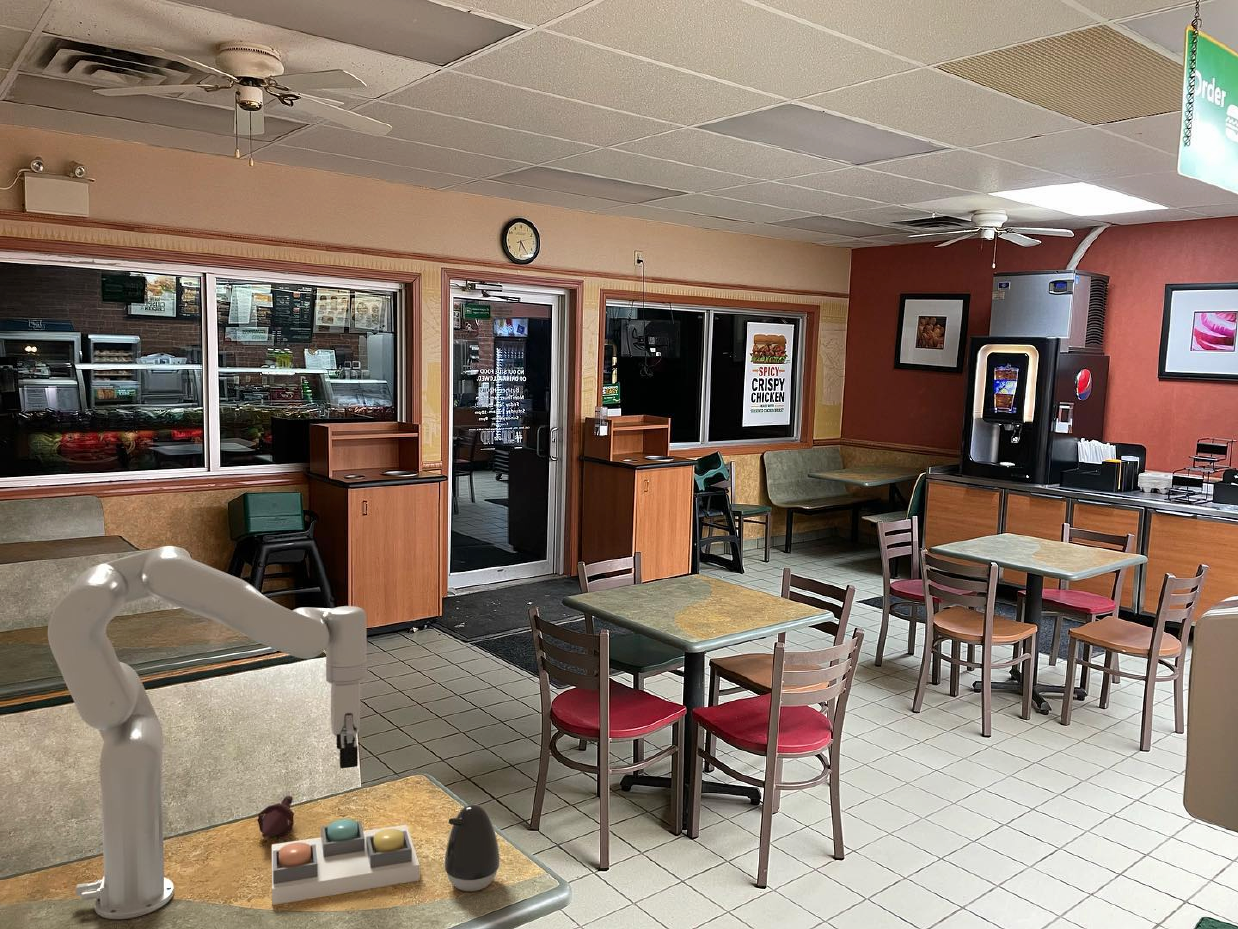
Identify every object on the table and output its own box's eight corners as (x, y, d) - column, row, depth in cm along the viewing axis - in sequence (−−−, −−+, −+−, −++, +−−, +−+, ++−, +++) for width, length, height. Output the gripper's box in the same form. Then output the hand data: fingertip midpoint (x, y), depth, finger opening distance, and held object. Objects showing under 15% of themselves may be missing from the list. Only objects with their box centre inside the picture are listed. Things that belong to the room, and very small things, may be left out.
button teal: (328, 846, 176) (328, 834, 176) (326, 833, 181) (326, 821, 181) (358, 842, 178) (358, 830, 178) (356, 829, 183) (356, 817, 183)
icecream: (286, 823, 181) (309, 796, 196) (250, 813, 181) (275, 787, 196) (277, 857, 181) (300, 827, 196) (240, 847, 181) (266, 819, 196)
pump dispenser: (432, 884, 172) (432, 806, 170) (476, 864, 179) (477, 789, 178) (466, 906, 165) (466, 824, 163) (510, 884, 172) (511, 806, 171)
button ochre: (375, 857, 172) (375, 845, 172) (372, 843, 177) (372, 831, 177) (405, 852, 174) (405, 840, 174) (401, 838, 179) (401, 827, 179)
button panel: (272, 905, 164) (272, 875, 163) (271, 859, 179) (271, 832, 179) (419, 880, 173) (419, 852, 172) (406, 838, 189) (406, 813, 188)
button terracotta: (279, 872, 166) (278, 859, 166) (278, 857, 171) (278, 845, 171) (311, 867, 168) (311, 854, 168) (310, 852, 173) (310, 840, 173)
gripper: (323, 660, 184) (324, 743, 185) (328, 687, 168) (329, 777, 169) (362, 657, 186) (362, 739, 188) (370, 683, 170) (371, 772, 172)
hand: (346, 757), depth 178 cm, fingers open, 9 cm apart
